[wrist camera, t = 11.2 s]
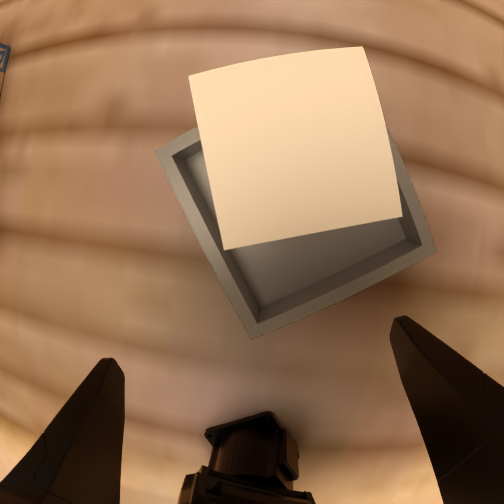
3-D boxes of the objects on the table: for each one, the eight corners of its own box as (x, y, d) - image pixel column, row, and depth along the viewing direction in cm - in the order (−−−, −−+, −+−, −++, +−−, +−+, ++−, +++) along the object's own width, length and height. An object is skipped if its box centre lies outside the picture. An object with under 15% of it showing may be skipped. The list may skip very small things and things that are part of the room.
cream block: (331, 200, 20) (402, 216, 8) (253, 215, 20) (224, 250, 9) (315, 124, 19) (362, 46, 7) (237, 139, 20) (188, 76, 8)
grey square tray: (254, 318, 23) (251, 339, 19) (172, 156, 21) (154, 150, 17) (414, 242, 21) (436, 251, 17) (338, 77, 19) (349, 58, 16)
